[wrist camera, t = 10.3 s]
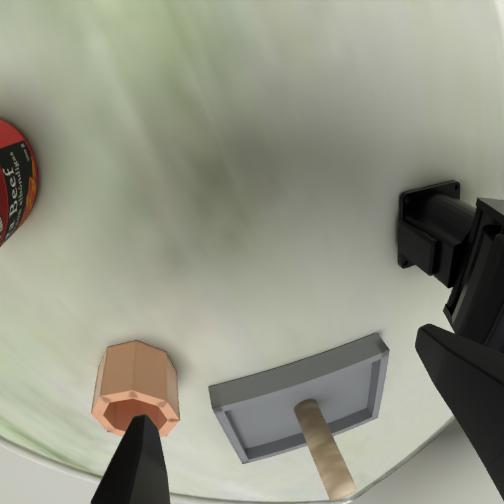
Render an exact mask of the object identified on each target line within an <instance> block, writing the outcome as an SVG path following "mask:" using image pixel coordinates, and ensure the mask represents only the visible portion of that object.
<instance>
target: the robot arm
mask: <svg viewBox="0 0 504 504" xmlns="http://www.w3.org/2000/svg"><path fill="white" fill-rule="evenodd" d="M454 187H455V188H454ZM406 197H407V200H406V201H405V199H406ZM459 199H460V183H459V182H457V181H455V180H453V181H449V182H444V183H440V184H436V185H432V186H428V187H423V188H419V189H415V190H411V191H407V192H404V193H402V194H401V196H400V223H399V259H398V264H399V266H400V267H402V268H403V269H404V268H408V267H410V266H413V265H417V266H418V267H419V268H420V269H422V270H423V271H424V272H425V273H426V274H428V275H429V276H431V275H433V276H434V277H436V278H437V279H438V280H439V281H440V282H442V283H443V284H444V285H445V286H446V287H447V288H451V287H453V288H452V291H451V294H450V297H449V299H448V302H447V304H445V307H444V309H443V312H444V314H445V316H446V317H447V319H448V321H449V323H450V325H451V327H452V329H453V330H454V332H455V334H454V333H452V332H449V331H447V330H444V329H442V328H440V327H437V326H435V325H432V324H426V325H424V326H421V327H420V328H419V329H418V332H417V337H416V342H415V348H416V351H417V353H418V355H419V357H420V359H421V360H422V362H423V364H424V366H425V368H426V370H427V372H428V374H429V376H430V378H431V380H432V382H433V383H434V385H435V387H436V388H437V390H438V391H439V393H440V394H441V396H442V398H443V399H444V401H445V402H446V404H447V405H448V407H449V408H450V410H451V411H452V413H453V415H454V416H455V418H456V419H457V421H458V422H459V424H460V426H461V427H462V429H463V431H464V432H465V434H466V435H467V437H468V439H469V440H470V442H471V444H472V445H473V447H474V449H475V450H476V452H477V454H478V455H479V457H480V459H481V461H482V462H483V464H484V466H485V467H486V468H487V469H486V470H487V471H488V473H489V475H490V477H491V479H492V480H493V482H494V484H495V486H496V488H497V489H498V491H499V493H500V495H501V497H502V499H503V501H504V200H496V199H488V198H479V197H478V198H477V202H476V206H477V207H476V208H474V207H472V206H470V205H468V204H466V203H464V202H462V201H460V200H459ZM404 261H405V262H404ZM91 504H170V496H169V486H168V477H167V470H166V465H165V461H164V456H163V451H162V446H161V440H160V435H159V431H158V428H157V427H156V425H155V424H154V423H153V421H152V420H151V419H150V418H149V416H148V415H147V414H140V415H135V416H134V417H133V418H132V420H131V422H130V424H129V426H128V428H127V430H126V432H125V434H124V436H123V438H122V440H121V442H120V444H119V445H118V447H117V449H116V451H115V453H114V455H113V457H112V459H111V461H110V463H109V465H108V467H107V470H106V472H105V474H104V476H103V478H102V480H101V482H100V484H99V486H98V488H97V490H96V492H95V494H94V496H93V498H92V500H91Z"/></svg>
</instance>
